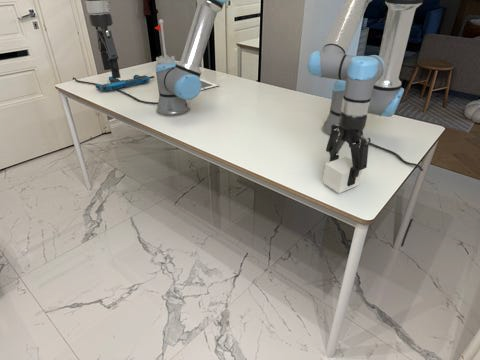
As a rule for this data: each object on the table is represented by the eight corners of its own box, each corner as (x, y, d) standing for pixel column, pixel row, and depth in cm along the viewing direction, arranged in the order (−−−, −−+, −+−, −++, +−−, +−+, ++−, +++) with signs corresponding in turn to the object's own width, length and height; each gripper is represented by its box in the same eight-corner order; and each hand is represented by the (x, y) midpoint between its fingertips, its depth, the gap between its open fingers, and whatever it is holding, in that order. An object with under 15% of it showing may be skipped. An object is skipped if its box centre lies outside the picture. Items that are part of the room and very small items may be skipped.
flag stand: (173, 62, 249) (168, 17, 233) (177, 66, 239) (172, 20, 223) (155, 64, 245) (149, 18, 229) (158, 68, 235) (152, 21, 219)
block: (358, 185, 112) (363, 165, 108) (338, 193, 108) (342, 173, 104) (342, 174, 117) (345, 156, 113) (322, 182, 113) (325, 163, 109)
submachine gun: (140, 69, 223) (158, 75, 206) (141, 75, 225) (159, 81, 208) (87, 79, 204) (103, 87, 188) (89, 85, 206) (105, 94, 190)
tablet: (161, 80, 212) (161, 79, 212) (189, 74, 223) (188, 73, 223) (190, 93, 191) (190, 92, 191) (218, 85, 203) (218, 85, 202)
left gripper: (119, 16, 113) (131, 80, 125) (102, 9, 131) (113, 65, 142) (96, 18, 110) (110, 83, 121) (81, 10, 128) (95, 67, 139)
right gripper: (391, 122, 93) (374, 190, 106) (337, 100, 108) (327, 162, 120) (373, 128, 90) (357, 197, 102) (320, 104, 104) (311, 168, 117)
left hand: (112, 73), depth 132 cm, fingers open, 13 cm apart
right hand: (341, 178), depth 111 cm, fingers closed on block, 7 cm apart
